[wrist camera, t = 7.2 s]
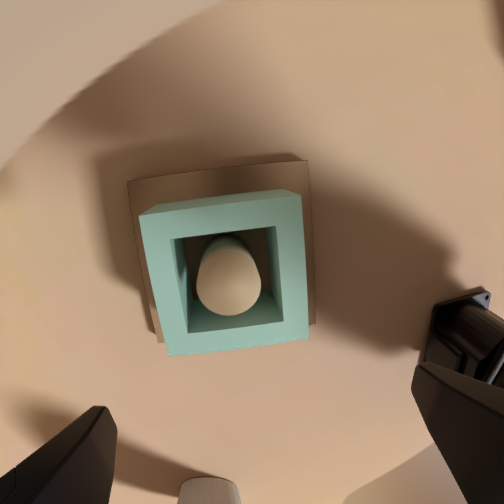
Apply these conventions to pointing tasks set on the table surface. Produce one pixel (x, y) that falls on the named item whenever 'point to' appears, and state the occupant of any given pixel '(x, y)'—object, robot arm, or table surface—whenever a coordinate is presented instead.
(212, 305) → the square base with peg
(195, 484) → the coffee cup
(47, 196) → the table surface
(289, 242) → the teal square frame
